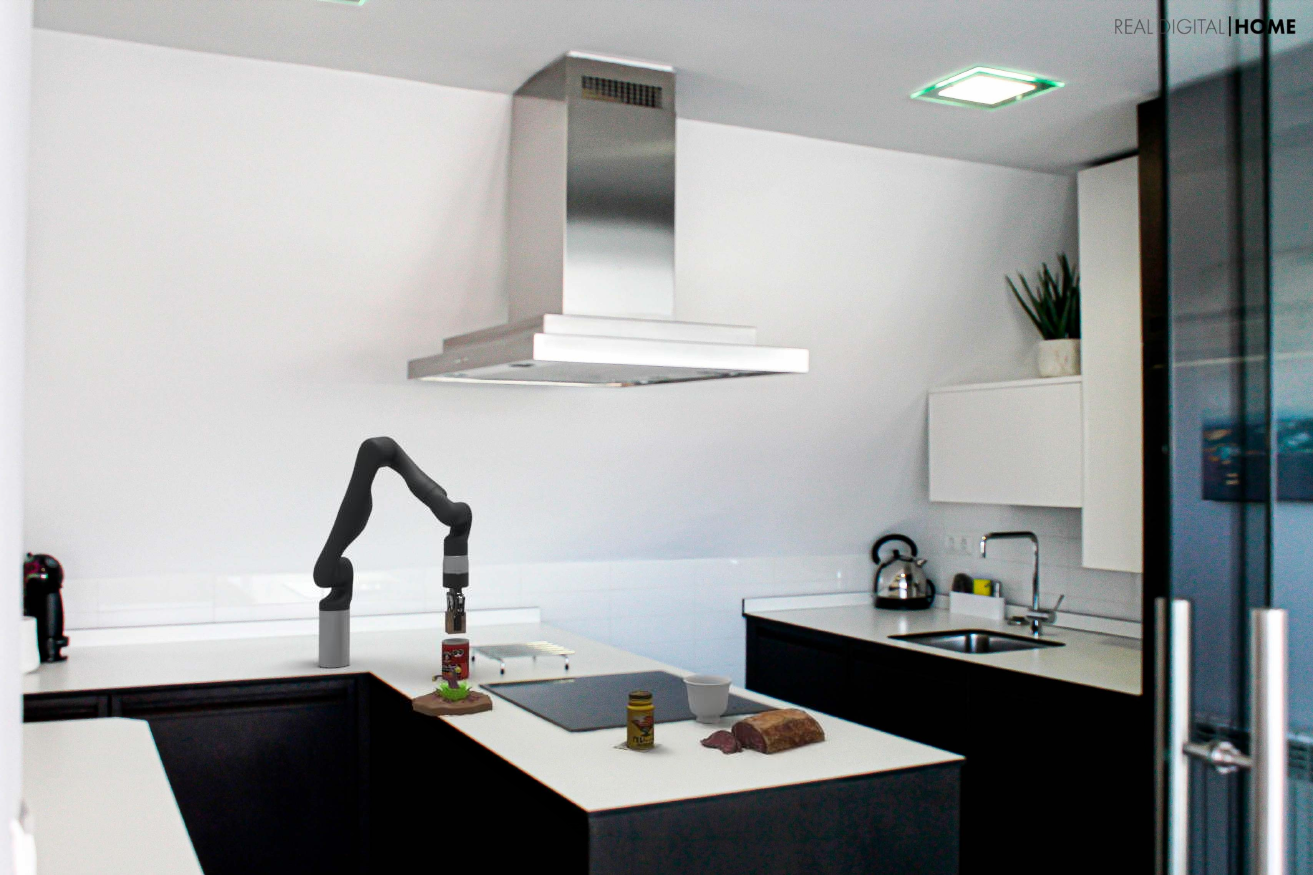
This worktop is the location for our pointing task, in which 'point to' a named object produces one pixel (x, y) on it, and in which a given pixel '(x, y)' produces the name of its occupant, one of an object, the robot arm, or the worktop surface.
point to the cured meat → (768, 732)
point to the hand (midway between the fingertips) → (455, 629)
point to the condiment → (640, 722)
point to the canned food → (455, 657)
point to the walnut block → (450, 623)
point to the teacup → (708, 696)
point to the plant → (452, 698)
